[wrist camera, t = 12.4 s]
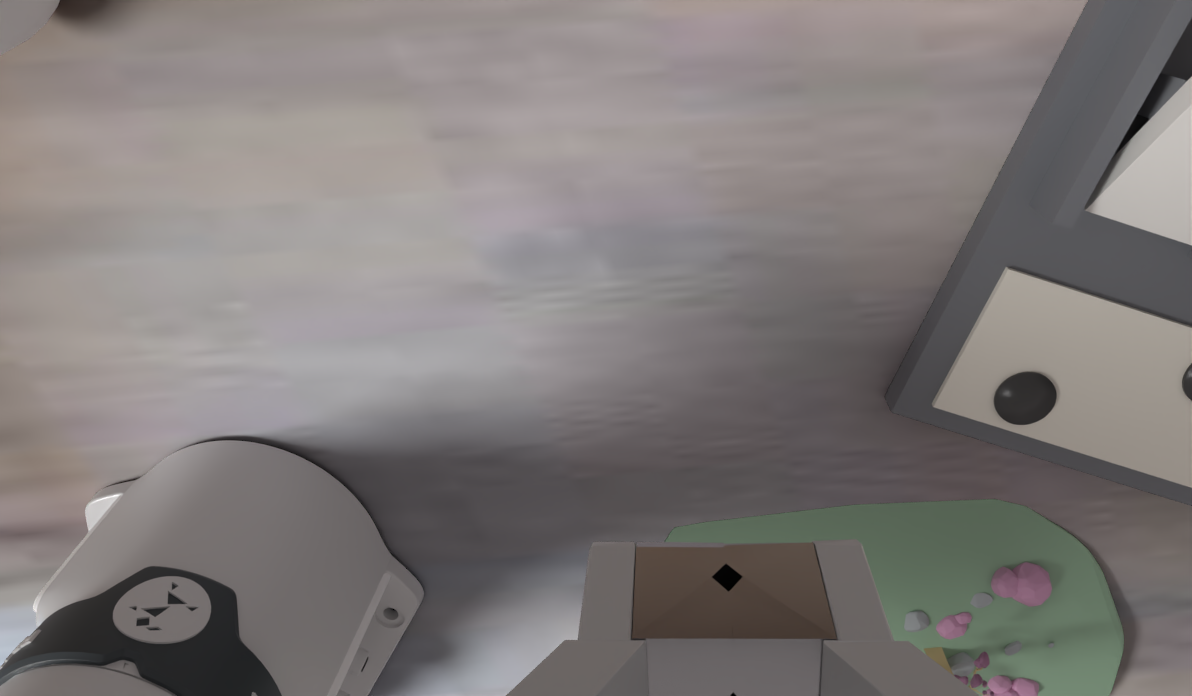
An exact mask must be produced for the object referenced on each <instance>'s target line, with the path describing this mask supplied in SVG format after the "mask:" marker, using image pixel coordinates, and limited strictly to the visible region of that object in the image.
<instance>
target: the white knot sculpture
mask: <svg viewBox="0 0 1192 696" xmlns="http://www.w3.org/2000/svg"><path fill="white" fill-rule="evenodd" d="M59 1H60V0H0V55H2V54H4V53H5V52H7V51H9V50H11V49H13V48H14V47H16V46H18V45H20V44H21V43H23V42H25V41H27V40H28V39H30V38H31V37H32V36H33V35H34V34H35V33H36V32H37V31H38V30H40V29H41V28H42V27H43V26H44V25H45V24H46V23H47V22H48V20H49V19H50V17H51V16H52V14H53V13H54V11H55V10H56V8H57V7H58V4H59Z"/></svg>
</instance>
